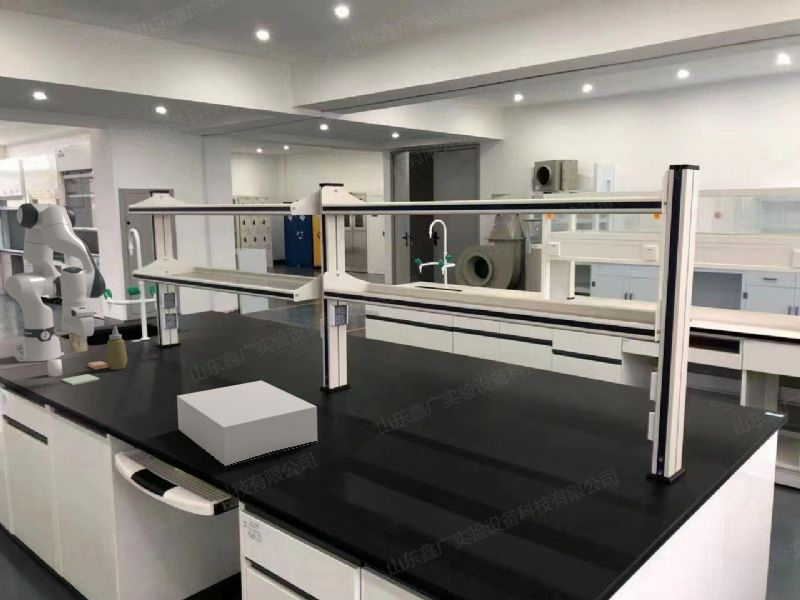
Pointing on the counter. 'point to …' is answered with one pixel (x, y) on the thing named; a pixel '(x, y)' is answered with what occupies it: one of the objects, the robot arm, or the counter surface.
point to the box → (246, 420)
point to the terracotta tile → (97, 365)
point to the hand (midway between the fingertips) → (78, 345)
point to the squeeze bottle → (116, 351)
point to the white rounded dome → (54, 367)
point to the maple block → (76, 343)
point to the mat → (80, 379)
